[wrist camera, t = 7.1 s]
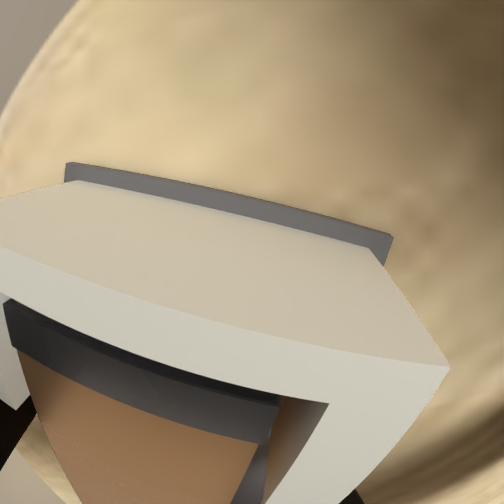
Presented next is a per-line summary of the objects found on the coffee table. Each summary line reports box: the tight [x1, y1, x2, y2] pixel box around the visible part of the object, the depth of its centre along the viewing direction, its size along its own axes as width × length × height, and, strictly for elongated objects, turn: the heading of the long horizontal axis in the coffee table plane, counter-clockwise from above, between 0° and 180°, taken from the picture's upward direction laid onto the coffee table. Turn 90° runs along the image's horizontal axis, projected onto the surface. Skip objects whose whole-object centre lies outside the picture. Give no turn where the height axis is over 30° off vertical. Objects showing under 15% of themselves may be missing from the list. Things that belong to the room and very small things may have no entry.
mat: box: [64, 162, 393, 504], centre depth 11 cm, size 8×24×1 cm, turn 167°
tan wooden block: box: [3, 298, 281, 504], centre depth 8 cm, size 4×15×4 cm, turn 168°
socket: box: [0, 180, 451, 504], centre depth 5 cm, size 7×4×4 cm, turn 77°
